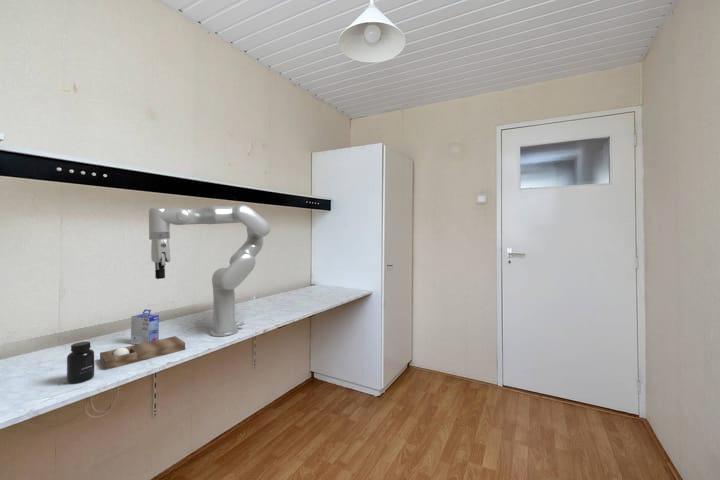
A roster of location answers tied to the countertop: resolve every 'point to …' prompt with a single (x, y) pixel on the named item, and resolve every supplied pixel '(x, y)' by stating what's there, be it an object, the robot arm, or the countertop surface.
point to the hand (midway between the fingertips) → (160, 278)
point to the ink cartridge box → (144, 328)
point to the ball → (120, 352)
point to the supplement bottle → (80, 363)
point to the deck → (142, 352)
